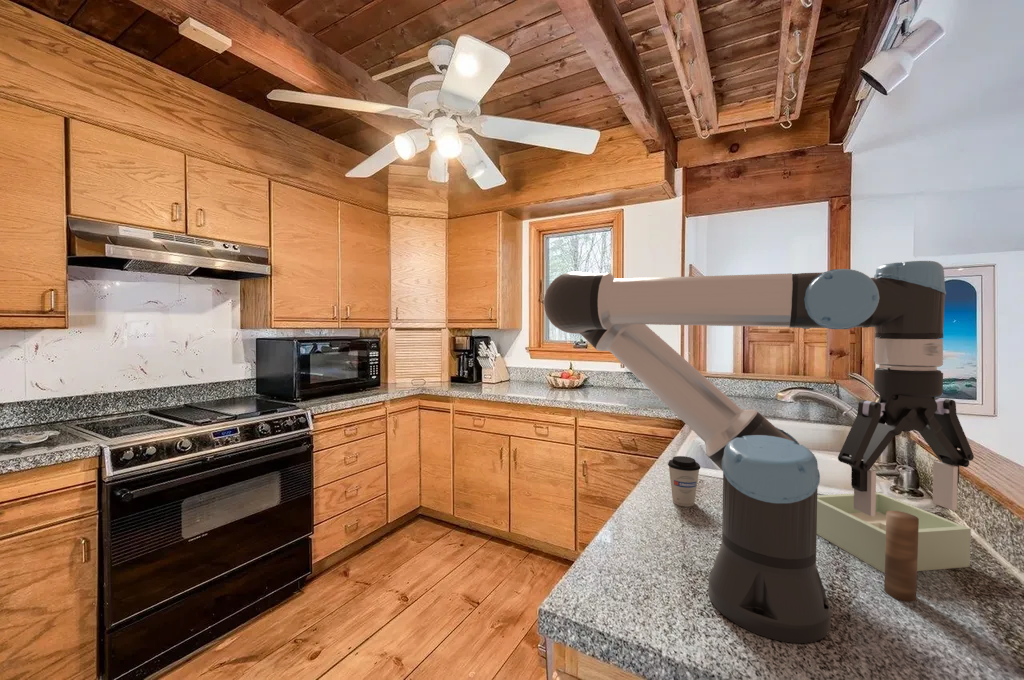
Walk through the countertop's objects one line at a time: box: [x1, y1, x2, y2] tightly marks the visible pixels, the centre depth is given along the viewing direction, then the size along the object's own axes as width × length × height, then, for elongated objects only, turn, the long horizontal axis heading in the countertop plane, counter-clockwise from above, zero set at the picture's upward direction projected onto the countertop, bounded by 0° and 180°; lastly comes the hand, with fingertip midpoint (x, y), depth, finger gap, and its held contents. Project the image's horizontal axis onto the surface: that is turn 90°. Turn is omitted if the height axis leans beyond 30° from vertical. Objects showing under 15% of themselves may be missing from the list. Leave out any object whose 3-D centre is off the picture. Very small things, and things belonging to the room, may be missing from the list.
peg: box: [883, 511, 919, 603], centre depth 65 cm, size 4×4×12 cm
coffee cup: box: [667, 455, 701, 508], centre depth 99 cm, size 7×7×10 cm
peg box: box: [817, 491, 972, 574], centre depth 79 cm, size 16×16×6 cm
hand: (904, 509), depth 65 cm, fingers open, 13 cm apart
